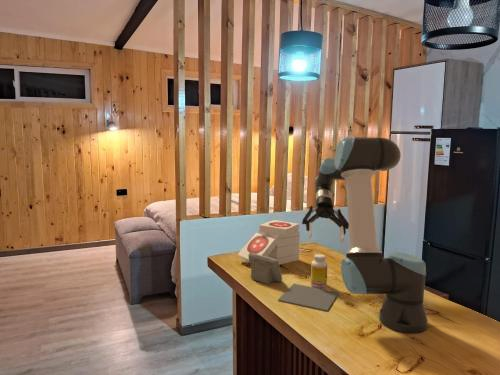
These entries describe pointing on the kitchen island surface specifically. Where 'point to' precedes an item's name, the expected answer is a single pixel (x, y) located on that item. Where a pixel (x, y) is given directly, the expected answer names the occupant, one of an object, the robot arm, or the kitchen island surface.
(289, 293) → the mat
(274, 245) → the pizza boxes
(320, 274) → the supplement bottle
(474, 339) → the kitchen island surface
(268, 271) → the digital clock
